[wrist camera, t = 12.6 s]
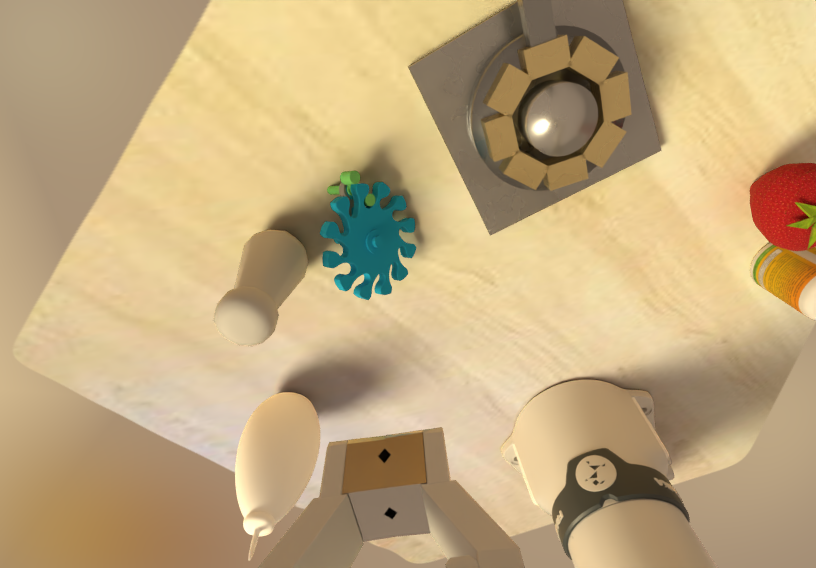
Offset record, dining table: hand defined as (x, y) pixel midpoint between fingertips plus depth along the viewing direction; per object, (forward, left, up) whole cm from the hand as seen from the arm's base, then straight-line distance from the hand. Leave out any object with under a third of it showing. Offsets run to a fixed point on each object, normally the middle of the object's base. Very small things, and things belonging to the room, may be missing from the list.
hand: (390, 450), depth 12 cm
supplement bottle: (-27, -29, -31) cm, 51 cm away
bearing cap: (-2, -13, -31) cm, 34 cm away
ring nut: (+2, -14, -28) cm, 31 cm away
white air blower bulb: (-18, +23, -31) cm, 43 cm away
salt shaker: (-2, +13, -31) cm, 34 cm away
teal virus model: (-4, +4, -31) cm, 32 cm away
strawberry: (-18, -28, -31) cm, 46 cm away
